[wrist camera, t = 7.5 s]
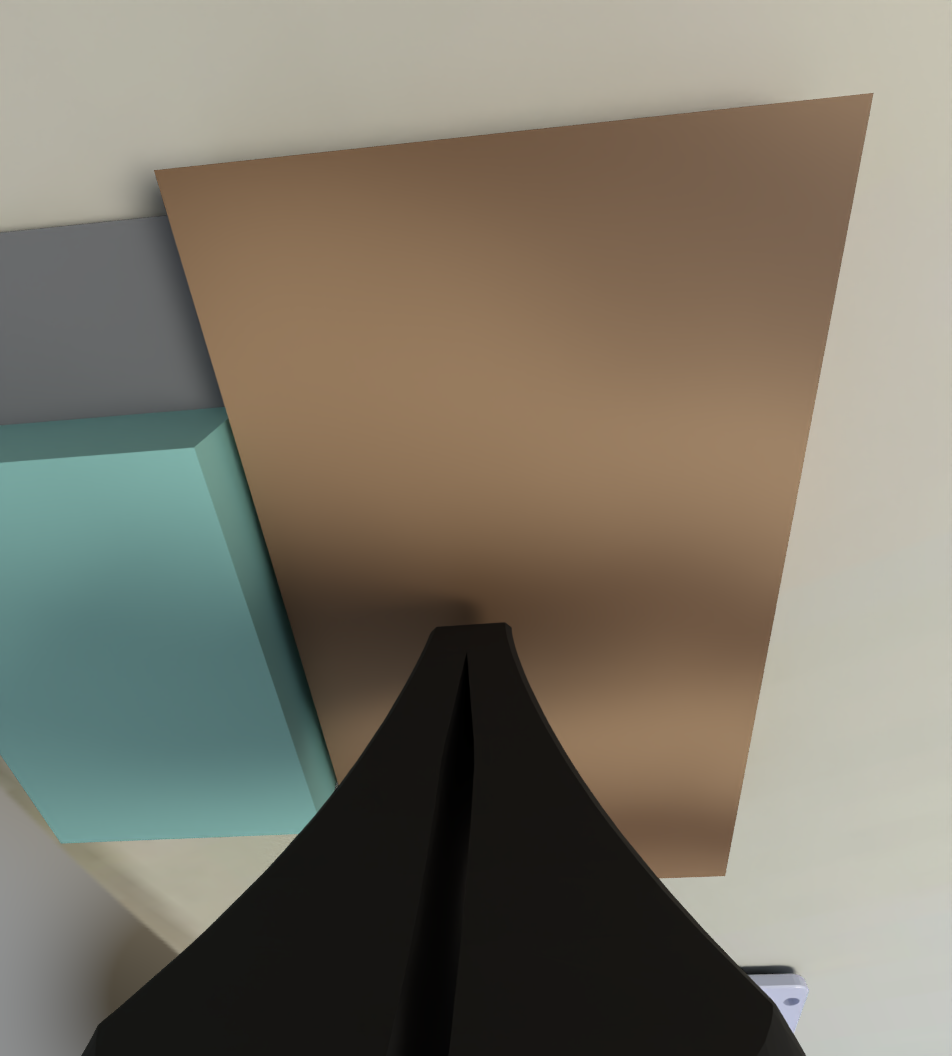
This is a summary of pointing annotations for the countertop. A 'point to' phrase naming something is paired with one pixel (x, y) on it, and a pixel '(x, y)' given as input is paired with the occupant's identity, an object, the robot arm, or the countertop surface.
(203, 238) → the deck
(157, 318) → the mat
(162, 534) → the teal rectangular block
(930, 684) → the countertop surface
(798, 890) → the countertop surface
